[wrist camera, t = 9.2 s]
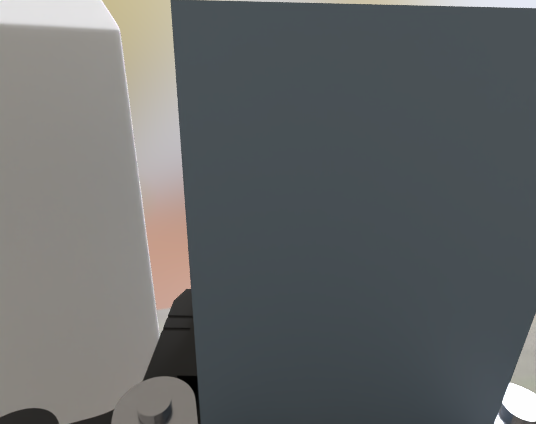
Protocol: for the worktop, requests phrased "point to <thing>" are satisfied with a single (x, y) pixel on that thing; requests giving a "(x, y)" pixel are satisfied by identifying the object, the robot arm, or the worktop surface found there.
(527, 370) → the worktop surface
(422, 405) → the post
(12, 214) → the milk
